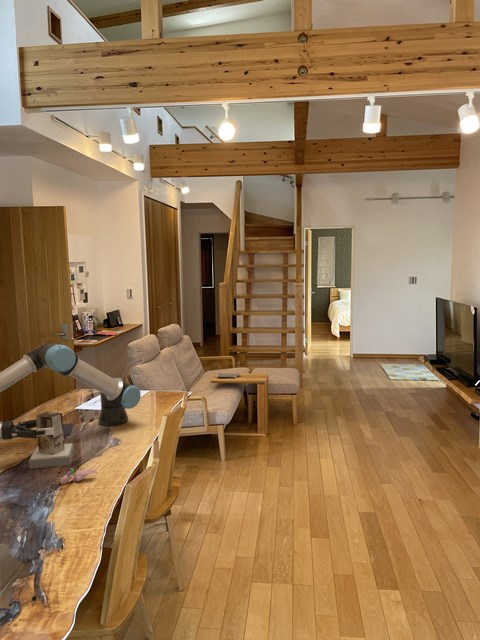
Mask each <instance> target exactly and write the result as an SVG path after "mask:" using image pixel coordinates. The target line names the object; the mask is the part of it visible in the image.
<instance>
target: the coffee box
mask: <svg viewBox="0 0 480 640" xmlns="http://www.w3.org/2000/svg"><path fill="white" fill-rule="evenodd" d="M35 419H36V422H37V427H36V430H37V429H43V428H54V435H43V436H37V444H38V446H39V452H43V453H50V454H56V453H58V452H61V451H63V450H65V447H64V444H65V439H64V433H63V424H64V421H63V413H62V412H54V411H44V412H42V413H39V414H38V415H35Z"/></svg>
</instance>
